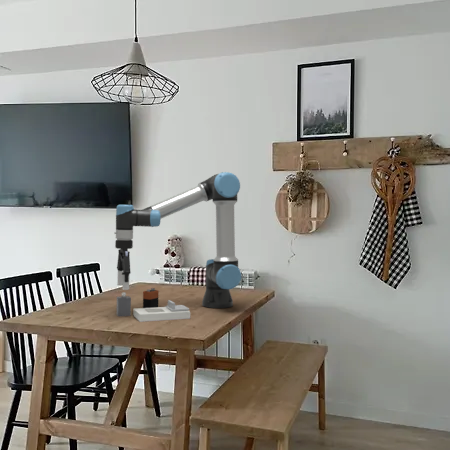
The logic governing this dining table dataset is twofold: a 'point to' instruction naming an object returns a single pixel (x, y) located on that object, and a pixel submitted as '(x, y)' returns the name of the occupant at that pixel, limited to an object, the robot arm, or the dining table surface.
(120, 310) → the plug
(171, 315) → the faceplate
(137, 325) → the dining table surface
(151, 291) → the battery
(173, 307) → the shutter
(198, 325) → the dining table surface
